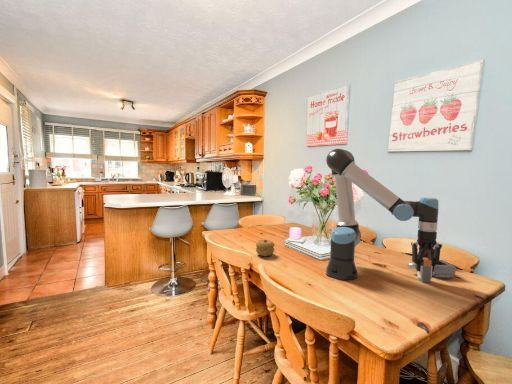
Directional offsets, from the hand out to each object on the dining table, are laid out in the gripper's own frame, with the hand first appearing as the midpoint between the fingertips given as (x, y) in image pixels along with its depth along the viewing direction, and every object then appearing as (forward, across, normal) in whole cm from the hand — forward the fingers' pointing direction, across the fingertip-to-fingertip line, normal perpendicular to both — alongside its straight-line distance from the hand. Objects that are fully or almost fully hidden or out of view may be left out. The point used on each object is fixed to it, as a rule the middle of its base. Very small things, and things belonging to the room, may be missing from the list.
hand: (424, 277), depth 123 cm
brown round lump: (+2, -78, +32) cm, 84 cm away
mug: (+2, +16, +23) cm, 28 cm away
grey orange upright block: (+2, 0, 0) cm, 2 cm away
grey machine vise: (+2, +8, +9) cm, 12 cm away
